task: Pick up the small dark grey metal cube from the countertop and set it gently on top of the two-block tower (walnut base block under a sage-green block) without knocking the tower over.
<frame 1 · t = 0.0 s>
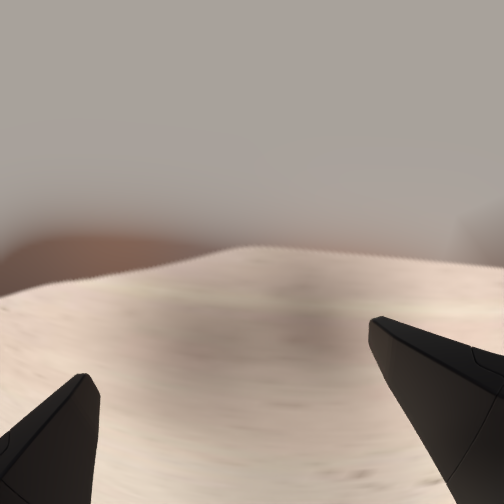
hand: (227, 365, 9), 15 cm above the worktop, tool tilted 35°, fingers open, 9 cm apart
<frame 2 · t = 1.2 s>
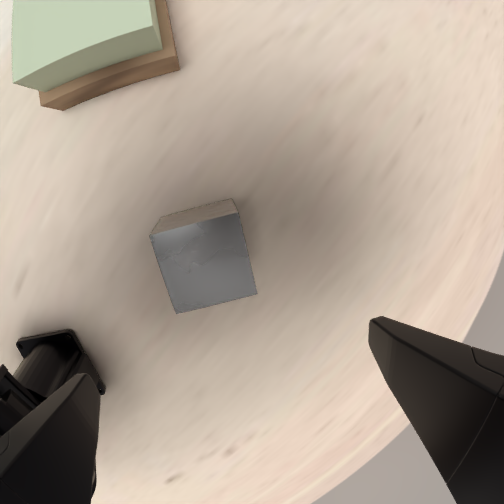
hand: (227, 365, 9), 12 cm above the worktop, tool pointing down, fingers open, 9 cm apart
top block: (94, 18, 12), point 3 cm above the worktop, touching base block
base block: (110, 37, 15), on the worktop, touching top block
cube: (205, 240, 20), on the worktop
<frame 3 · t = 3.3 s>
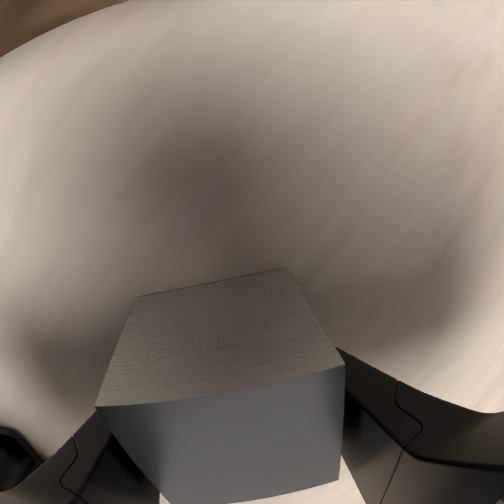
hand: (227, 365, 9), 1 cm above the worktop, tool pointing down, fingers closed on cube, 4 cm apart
cube: (225, 345, 10), on the worktop, touching gripper
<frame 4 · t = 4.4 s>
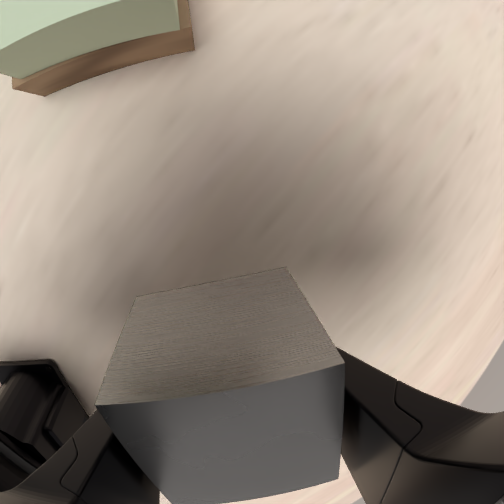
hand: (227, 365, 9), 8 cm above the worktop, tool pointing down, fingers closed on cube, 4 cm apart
base block: (109, 8, 11), on the worktop
cube: (225, 344, 10), point 6 cm above the worktop, touching gripper
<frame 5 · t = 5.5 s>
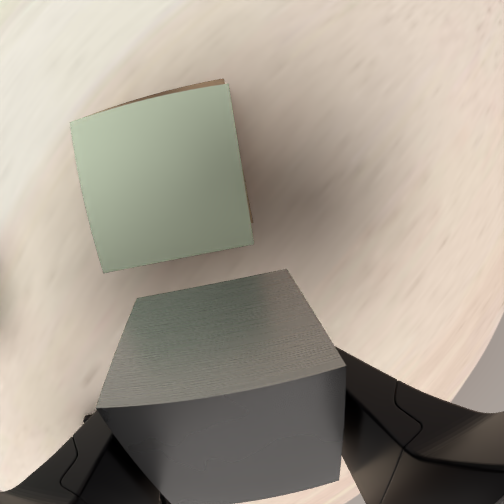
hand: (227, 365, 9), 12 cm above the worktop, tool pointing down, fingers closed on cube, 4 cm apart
top block: (168, 174, 16), point 3 cm above the worktop, touching base block
base block: (171, 164, 19), on the worktop, touching top block
cube: (225, 346, 10), point 11 cm above the worktop, touching gripper
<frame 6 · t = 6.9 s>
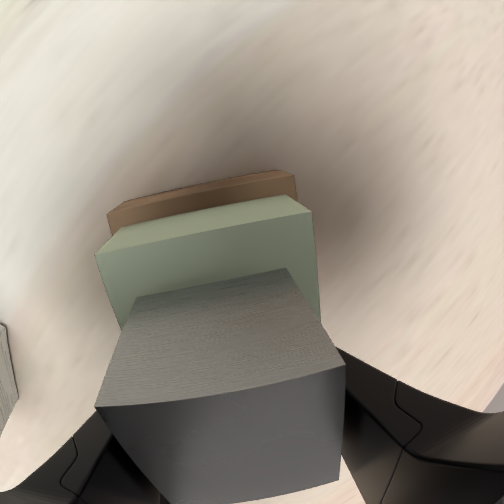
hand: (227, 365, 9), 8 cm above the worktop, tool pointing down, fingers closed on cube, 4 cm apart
top block: (217, 286, 14), point 3 cm above the worktop
base block: (215, 255, 17), on the worktop
cube: (225, 345, 10), point 7 cm above the worktop, touching gripper
when the fingers open (8 cm above the worktop, at t = 7.4 s): cube stays where it is, point 7 cm above the worktop.
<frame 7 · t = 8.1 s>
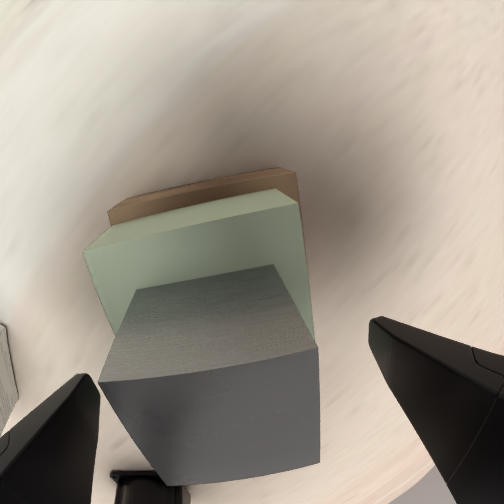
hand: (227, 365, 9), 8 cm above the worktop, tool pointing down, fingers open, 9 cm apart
top block: (209, 283, 14), point 3 cm above the worktop, touching base block
base block: (216, 253, 17), on the worktop, touching top block
cube: (217, 335, 11), point 7 cm above the worktop
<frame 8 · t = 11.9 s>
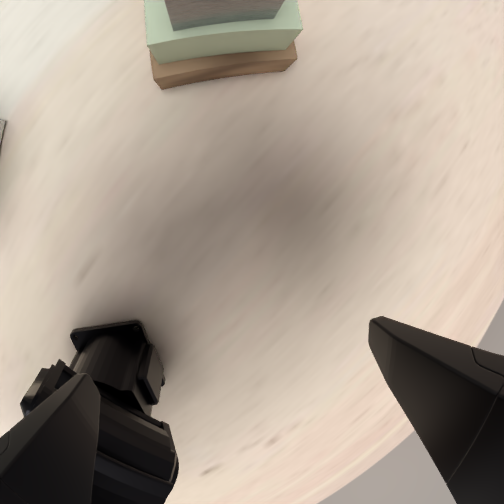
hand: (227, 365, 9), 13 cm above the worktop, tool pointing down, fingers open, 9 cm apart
top block: (215, 3, 13), point 3 cm above the worktop, touching base block, cube
base block: (214, 27, 17), on the worktop, touching top block
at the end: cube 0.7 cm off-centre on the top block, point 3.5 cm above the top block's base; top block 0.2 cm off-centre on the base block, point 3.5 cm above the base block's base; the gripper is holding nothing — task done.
